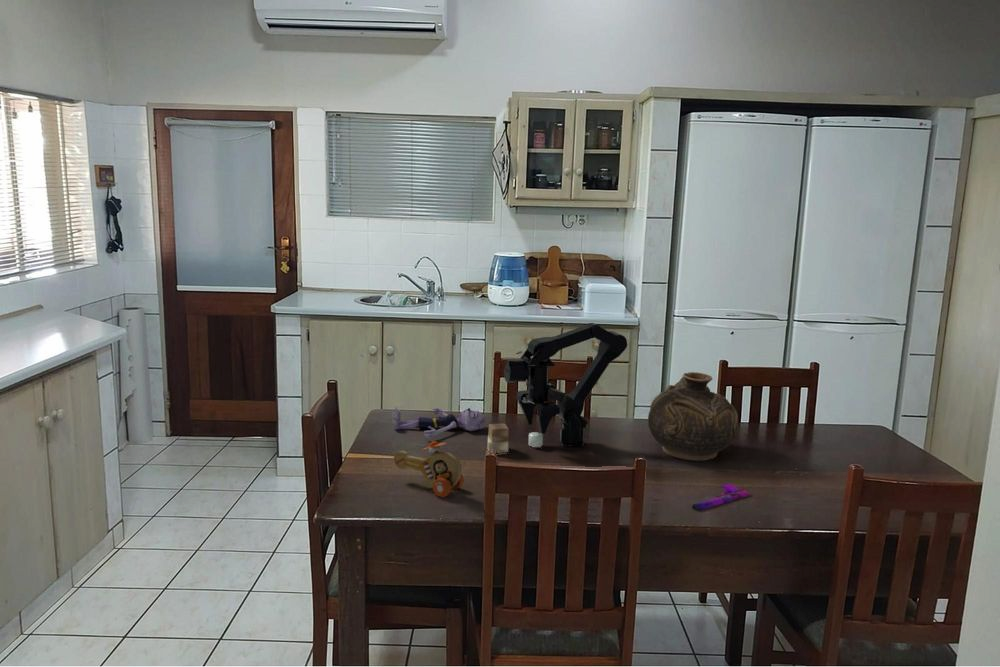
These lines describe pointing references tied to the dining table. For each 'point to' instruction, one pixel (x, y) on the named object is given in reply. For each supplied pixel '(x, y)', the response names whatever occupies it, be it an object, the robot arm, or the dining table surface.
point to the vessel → (692, 419)
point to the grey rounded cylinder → (535, 439)
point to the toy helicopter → (434, 468)
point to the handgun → (722, 497)
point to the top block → (498, 432)
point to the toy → (441, 421)
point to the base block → (498, 446)
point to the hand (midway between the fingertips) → (536, 429)
